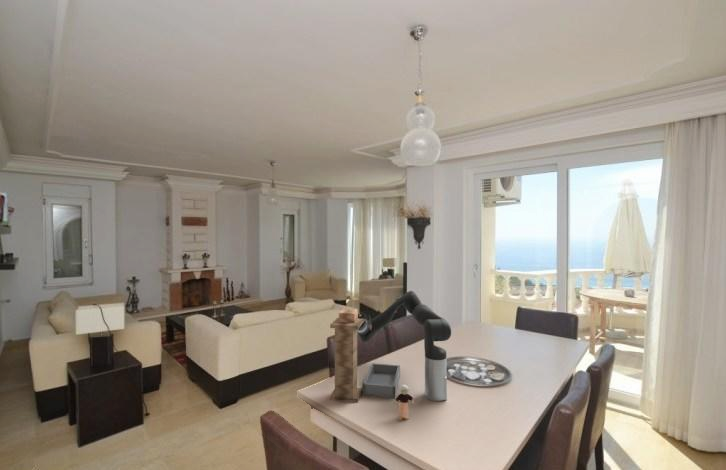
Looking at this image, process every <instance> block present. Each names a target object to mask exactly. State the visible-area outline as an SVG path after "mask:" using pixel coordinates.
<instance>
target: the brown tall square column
mask: <svg viewBox="0 0 726 470" xmlns="http://www.w3.org/2000/svg"><path fill="white" fill-rule="evenodd" d="M362 323H363V319H357V320H356V322H355V323H347V322H339V317H337V318H336V319H335V320H333V321H332V323H330V324H329V325H330V326H329V327H330V329H334V389H333V391H332V392H331V394H330V395H329V399H330V400H331V401H340V402H349V403H359V400H360V398H361V396H362V395H363V387H358V333H357V330H358V329H359V327H360V326H361V325H362Z"/></svg>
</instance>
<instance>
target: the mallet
mask: <svg viewBox="0 0 726 470" xmlns="http://www.w3.org/2000/svg"><path fill="white" fill-rule="evenodd" d="M358 314H359V310H358V308H351V309H341V310H340V311H339V312H338V318H339V322H347V323H355V322H356V320H357V319H358Z"/></svg>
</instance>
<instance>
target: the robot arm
mask: <svg viewBox="0 0 726 470" xmlns="http://www.w3.org/2000/svg"><path fill="white" fill-rule="evenodd" d="M401 306H403V307H404V308H405V310H406V311H407V312H408V314H410V315H412V317H413V319H414V320H415V321H416V323H417V324H419V325H420V326H422V327H423V340H424V341H423V342H424V344H423V345H424V397H425V398H426V399H427V400H430V401H435V402H441V401H447V399H448V395H447V394H448V391H447V390H448V389H447V388H448V381H447V380H448V377H447V351H446V349H445V348H443V347H441V346H438V345H435V343H434V342H445V341H448V340H449V339H450V338H451V336H452V329H451V325H450V323H449V322H448V320H447V319H445V318H443V317H441V316H440V315H438V314H437V313H435V312H434V311H433V310H432V309H431V308H430V307H429V306H428V305H426V304H423V303H422V301H421V300H420V299H419V297H418V295H417V294H416V292H414V291H413V290H409V291H407V292H405V293H404V294H402V295H401V296H400V297H399V298H398V299H396V300H395V301H394V302H393V303H392V304H391V305H390V306H389V307H388V308H386V309H385V310H384V311H382V312H381V313H380V314H378V315H377V316H375V317H374V318H372V317H371V316H370V314H368V315H366V313H364V312H361V314H360V313H358V319H363V323H362V325H361V326H360V327H359V329H358V330H357V335H358V336H359V338H360V340H361V341H362V342H363V343H367V342H369V341H371V340H372V339H373V338H374V336H375V335H376V334H377V333H379V331H380V330H382V329H383V328H384V327H386V326H388V325H389V324H390V323H391V322H392V320H393V318H394V315H395V314H396V311H397V310H398V308H399V307H401ZM368 324H371V329H370V326H369V325H368Z"/></svg>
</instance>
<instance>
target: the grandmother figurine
mask: <svg viewBox="0 0 726 470" xmlns="http://www.w3.org/2000/svg"><path fill="white" fill-rule="evenodd" d="M399 389H400V393H399V394H398V395H397V397H395V400H394V402H393V404H394V405H397V403H398V402H399V403H398V414H397V415H398V416H397V420H399V421H401V420H403V419H404V420H410V417H409V406H410V405H409V401H410V403H411V404H415V401H414V398H413V397H412V395H410V394H409V393H408V392H409V391H410V388H409V387H408V385H406V384H401V385H400V386H399Z"/></svg>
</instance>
